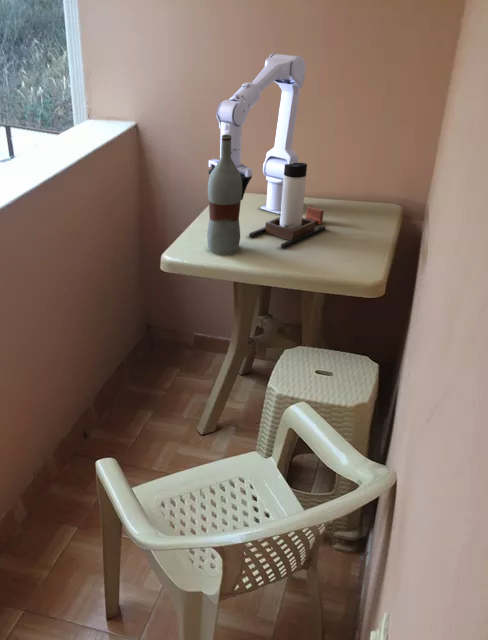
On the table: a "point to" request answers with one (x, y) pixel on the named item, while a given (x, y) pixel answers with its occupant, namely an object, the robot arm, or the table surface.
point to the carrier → (307, 225)
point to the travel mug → (293, 195)
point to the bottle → (224, 203)
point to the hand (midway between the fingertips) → (229, 197)
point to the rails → (292, 241)
